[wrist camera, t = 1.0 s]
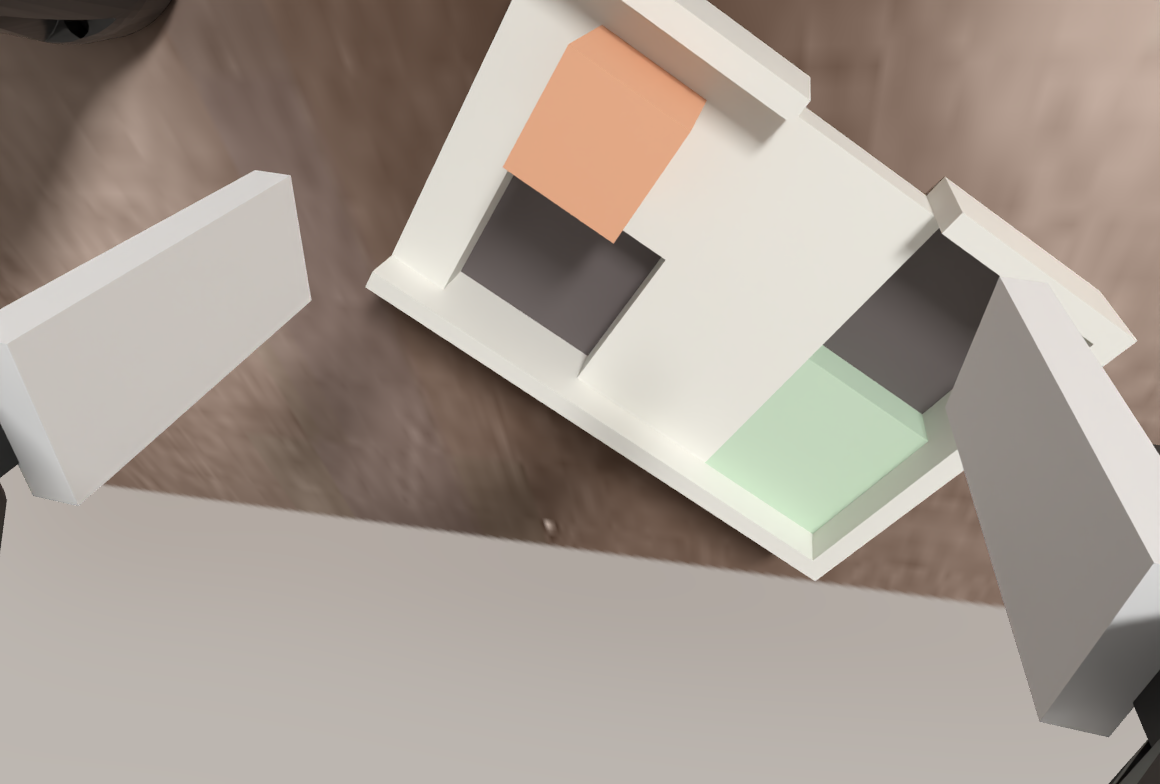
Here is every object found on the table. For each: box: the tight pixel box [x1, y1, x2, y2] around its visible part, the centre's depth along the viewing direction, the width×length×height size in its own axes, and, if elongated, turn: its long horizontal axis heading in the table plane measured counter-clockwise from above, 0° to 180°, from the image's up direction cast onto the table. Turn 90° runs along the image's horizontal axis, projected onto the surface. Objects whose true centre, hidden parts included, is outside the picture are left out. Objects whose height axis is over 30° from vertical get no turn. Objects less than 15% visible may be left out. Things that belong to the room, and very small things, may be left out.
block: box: [503, 25, 707, 244], centre depth 29 cm, size 5×5×5 cm
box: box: [366, 0, 1137, 581], centre depth 34 cm, size 27×18×4 cm, turn 59°
